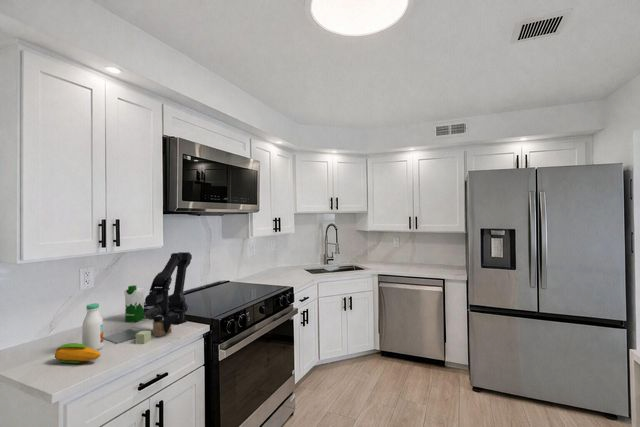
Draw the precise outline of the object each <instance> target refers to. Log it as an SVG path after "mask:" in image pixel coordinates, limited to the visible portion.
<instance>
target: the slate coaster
mask: <svg viewBox="0 0 640 427" xmlns="http://www.w3.org/2000/svg"><path fill="white" fill-rule="evenodd" d="M139 332H140V331H136V330H134V329H131V328H129V329H126V330H122V331H118V332H116V333H113V334H109V335H106V336H103V340H105V341H108V342H111V343H114V344H117V345H118V344H120V343H124V342H127V341H129V340H133V339H136V334H137V333H139Z"/></svg>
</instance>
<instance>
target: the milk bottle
mask: <svg viewBox="0 0 640 427" xmlns="http://www.w3.org/2000/svg"><path fill="white" fill-rule="evenodd" d="M85 307H86V314H85V316H84V318H83V321H82V326H81V327H82V328H81V329H82V331H81V332H82V333H81V334H82V335H81V338H82V339H81V340H82V341H81V342H82V343H81V344H85V345H87V347H88V348H91V349H94V350H96V351H99V350H101V349H102V348H103V347H104V339H103V337H104V319H103V318H102V315H101V314H100V311H99V309H100V303H90V304H87V305H86V306H85Z"/></svg>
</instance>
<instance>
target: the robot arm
mask: <svg viewBox="0 0 640 427" xmlns="http://www.w3.org/2000/svg"><path fill="white" fill-rule="evenodd" d="M192 259H193V256H192V254H191V252H188V251H187V252H184V251H183V252H182V251H180V252H179V251H178V252H172V253H170V258H169V259H168V260H167V263H166V264H165V266H164V268H163V269H162V271H160V272H158V273H157V274H156V275H155V276H154V278H153V280H152V282H151V286H150V289H149V293H148V294H147V295H146V296H145V297H144V303H145V304H146V305H147V306H148V307H151V308H148V310H146V311H144V317H145V319H147V320H149V321H151V320H152V321H153V322H156V321H160V320H162V322H163V323H164V329H165V333H167V332H168V330H169V328H170V326H171V327H172V325H173V324H174V325H180V324H183V323H186V322H188V320H187V319H186V313H187V312H188V308H189V305H188V304H187V303H186V297H185V295H184V289H185V280H186V275H187V268H188V267H189V266H190V264H191V261H192ZM175 270H176V274H175V275H176V276H175V282H174V288H173V293H172V294H171V295H169V291H170V289H171V287H170V286H171V283H172V279H173V278H172V276H173V274H174V271H175ZM163 319H164V320H163Z"/></svg>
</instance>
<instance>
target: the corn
mask: <svg viewBox="0 0 640 427" xmlns="http://www.w3.org/2000/svg"><path fill="white" fill-rule="evenodd" d="M100 357H101V352H100V351H99V350H94V349H91V348H88V347H87V345H85V344H82V343H78V342H74V343H73V342H71V343H65V344H62V345H60V346H59V347H57V348H56V349H55V352H54V358H55V359H56V360H58V361H59V362H62V363H66V364H81V362H88V361H92V360H95V359H98V358H100Z"/></svg>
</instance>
